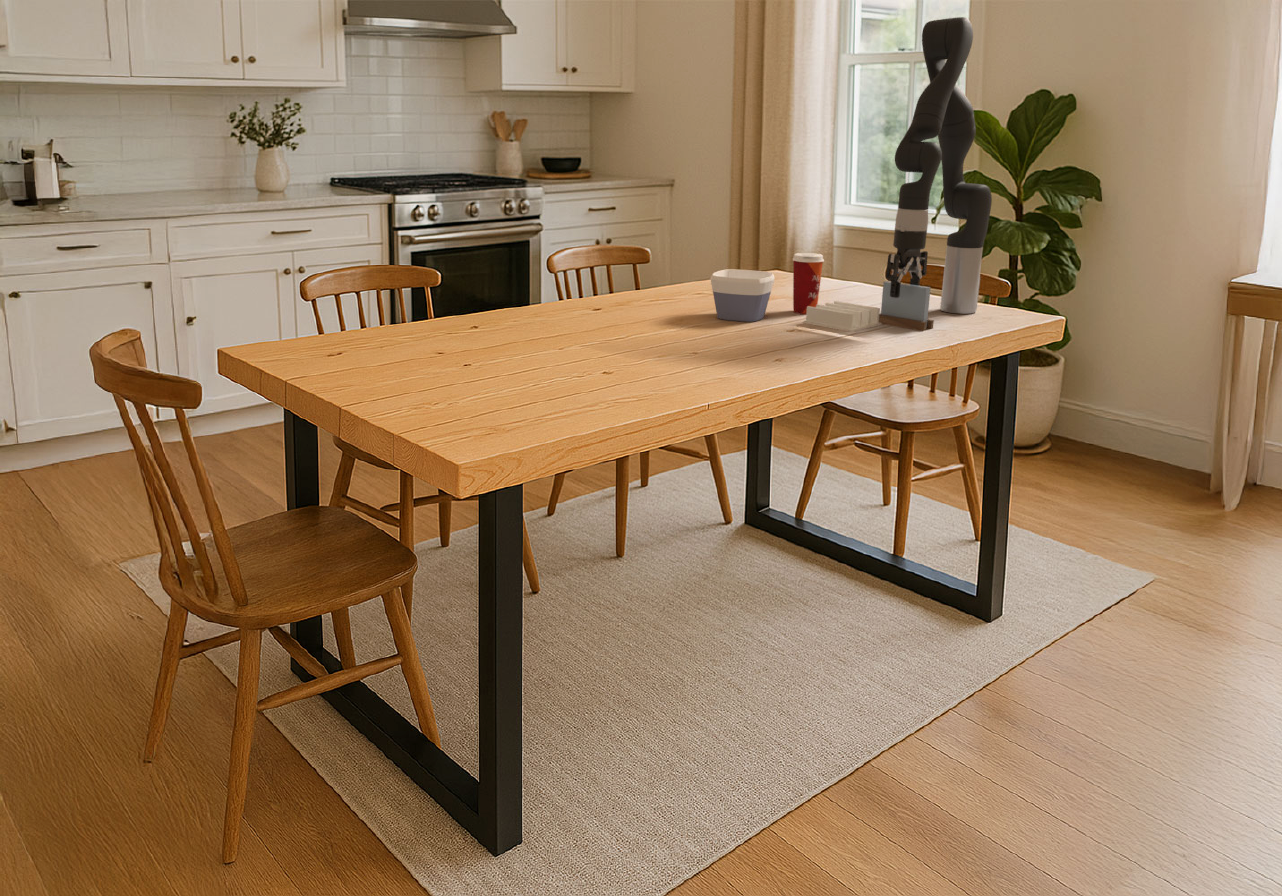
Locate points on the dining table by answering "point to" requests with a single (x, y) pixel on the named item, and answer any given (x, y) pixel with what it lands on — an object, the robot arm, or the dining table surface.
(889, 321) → the stand
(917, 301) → the grey-blue flat slab
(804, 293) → the coffee cup
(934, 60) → the robot arm
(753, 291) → the bowl
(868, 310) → the rack
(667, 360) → the dining table surface
